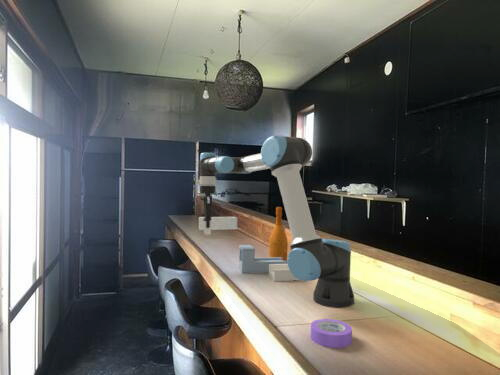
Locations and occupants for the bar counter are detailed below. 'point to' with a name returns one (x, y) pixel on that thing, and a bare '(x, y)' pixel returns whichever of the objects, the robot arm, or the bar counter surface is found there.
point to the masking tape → (331, 333)
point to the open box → (255, 260)
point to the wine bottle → (278, 238)
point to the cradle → (280, 272)
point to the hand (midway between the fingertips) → (207, 233)
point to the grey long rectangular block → (219, 223)
